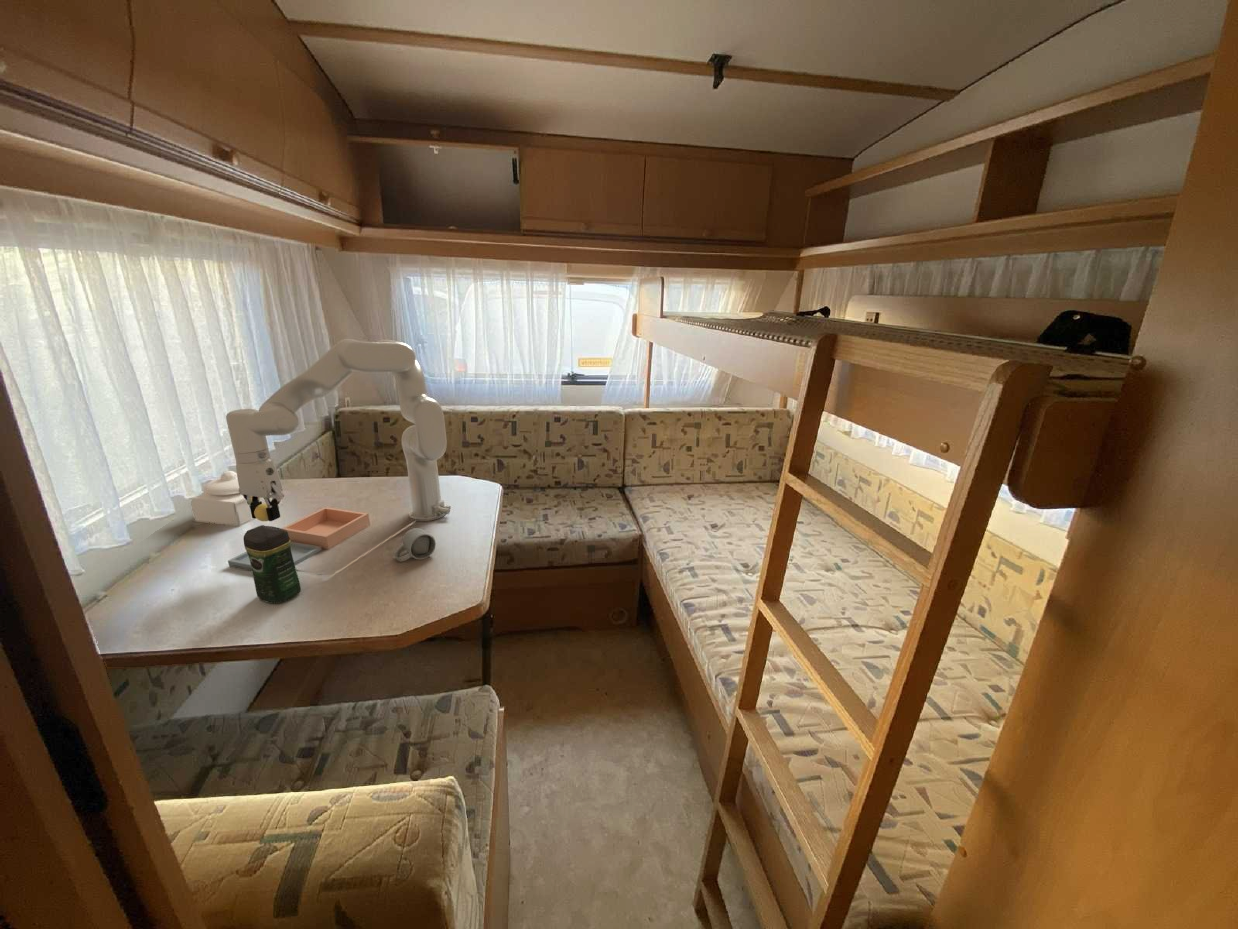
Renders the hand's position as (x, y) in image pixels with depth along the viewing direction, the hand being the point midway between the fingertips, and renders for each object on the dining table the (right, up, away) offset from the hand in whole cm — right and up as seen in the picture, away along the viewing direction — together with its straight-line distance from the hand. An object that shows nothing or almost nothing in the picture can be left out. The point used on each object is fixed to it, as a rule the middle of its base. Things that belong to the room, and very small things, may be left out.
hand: (266, 517), depth 140 cm
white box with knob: (-32, -2, +34) cm, 47 cm away
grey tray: (0, -13, +5) cm, 14 cm away
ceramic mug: (+38, -12, +8) cm, 41 cm away
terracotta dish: (+6, -8, +19) cm, 22 cm away
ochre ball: (0, -1, 0) cm, 1 cm away
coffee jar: (+12, -19, -12) cm, 25 cm away
